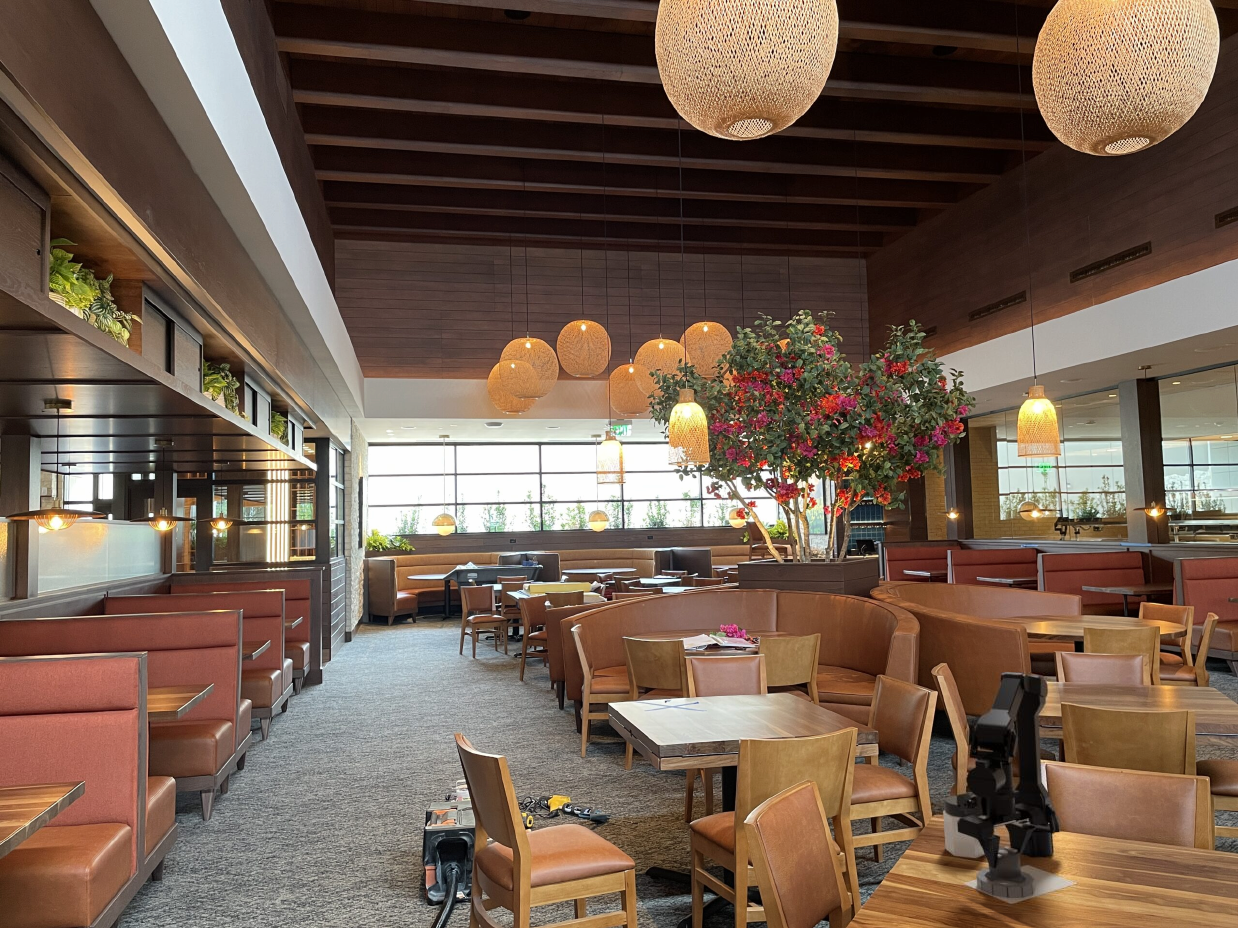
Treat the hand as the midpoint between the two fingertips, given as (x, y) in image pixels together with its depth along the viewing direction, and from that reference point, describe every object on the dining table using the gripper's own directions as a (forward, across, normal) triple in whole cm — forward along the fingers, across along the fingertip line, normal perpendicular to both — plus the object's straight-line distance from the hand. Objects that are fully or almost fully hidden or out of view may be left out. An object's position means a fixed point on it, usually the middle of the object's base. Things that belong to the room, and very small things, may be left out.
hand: (1004, 864), depth 181 cm
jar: (+6, -9, -19) cm, 22 cm away
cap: (+2, 0, 0) cm, 2 cm away
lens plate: (+6, -4, 0) cm, 7 cm away
